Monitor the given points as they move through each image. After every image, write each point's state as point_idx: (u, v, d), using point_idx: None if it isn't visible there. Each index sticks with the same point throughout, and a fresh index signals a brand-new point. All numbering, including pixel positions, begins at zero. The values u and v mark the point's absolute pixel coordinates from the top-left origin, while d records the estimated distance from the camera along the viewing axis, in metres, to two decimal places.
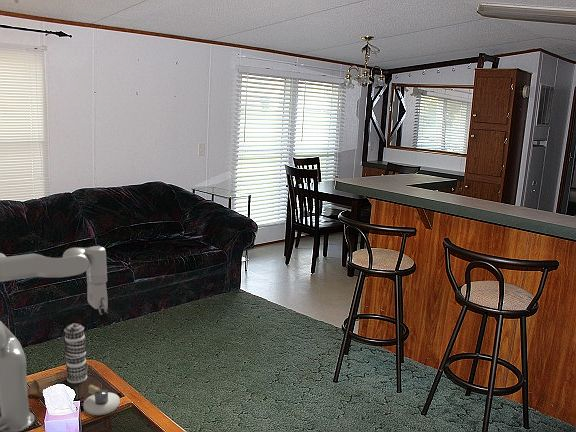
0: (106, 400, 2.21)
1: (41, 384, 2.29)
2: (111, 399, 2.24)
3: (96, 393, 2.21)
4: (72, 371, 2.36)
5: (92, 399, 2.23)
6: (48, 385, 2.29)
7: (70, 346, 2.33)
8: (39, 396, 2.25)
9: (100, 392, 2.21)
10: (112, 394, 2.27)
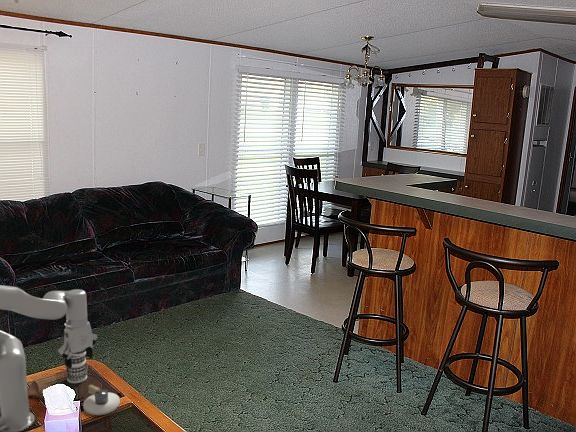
0: (106, 400, 2.21)
1: (40, 385, 2.29)
2: (111, 399, 2.24)
3: (96, 393, 2.21)
4: (72, 371, 2.36)
5: (92, 399, 2.23)
6: (47, 386, 2.28)
7: None
8: (39, 396, 2.25)
9: (100, 392, 2.21)
10: (112, 394, 2.27)
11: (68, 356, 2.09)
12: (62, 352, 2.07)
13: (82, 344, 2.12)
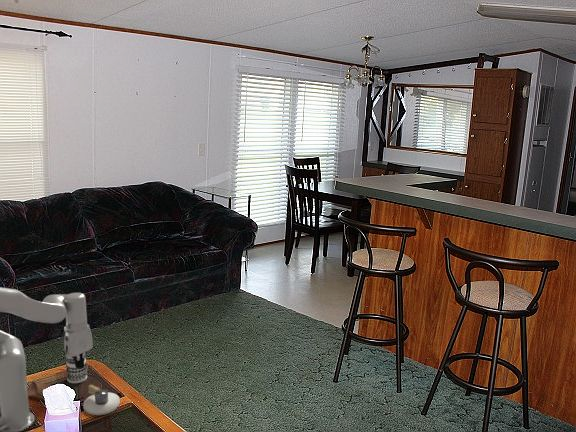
0: (106, 400, 2.21)
1: (39, 385, 2.28)
2: (111, 399, 2.24)
3: (96, 393, 2.21)
4: (72, 371, 2.36)
5: (92, 399, 2.23)
6: (46, 386, 2.28)
7: None
8: (38, 397, 2.24)
9: (100, 392, 2.21)
10: (112, 394, 2.27)
11: (77, 359, 2.13)
12: (71, 357, 2.11)
13: (82, 347, 2.12)
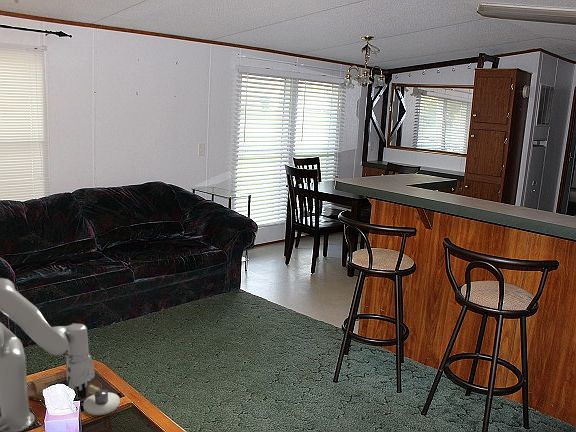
0: (106, 400, 2.21)
1: (38, 386, 2.28)
2: (111, 399, 2.24)
3: (96, 393, 2.21)
4: None
5: (92, 399, 2.23)
6: (45, 387, 2.27)
7: None
8: (37, 397, 2.24)
9: (100, 392, 2.21)
10: (112, 394, 2.27)
11: (79, 389, 2.16)
12: (73, 387, 2.14)
13: (84, 377, 2.15)
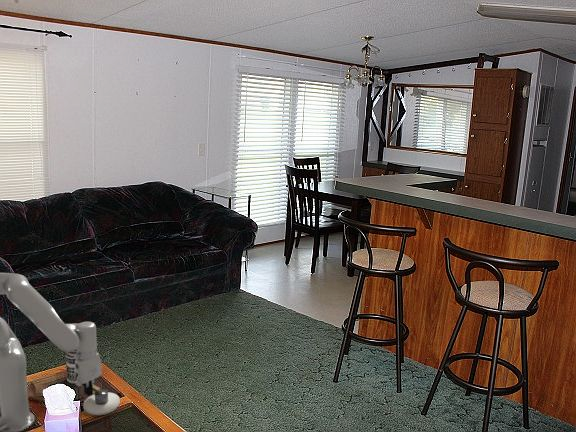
0: (106, 400, 2.21)
1: (38, 386, 2.27)
2: (111, 399, 2.24)
3: (96, 393, 2.21)
4: (72, 371, 2.36)
5: (92, 399, 2.23)
6: (45, 388, 2.27)
7: None
8: (36, 398, 2.23)
9: (100, 392, 2.22)
10: (112, 394, 2.27)
11: (86, 386, 2.19)
12: (80, 384, 2.17)
13: (91, 375, 2.18)
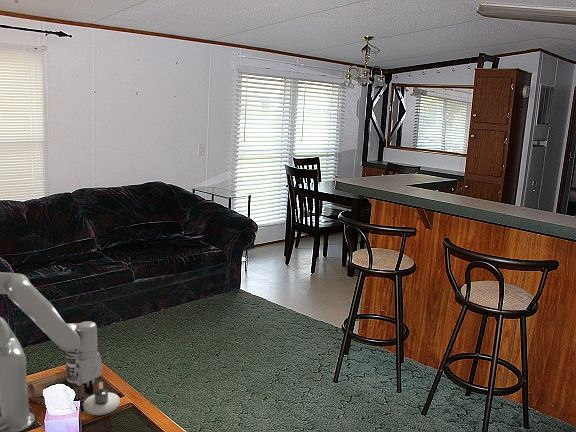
0: (103, 401, 2.20)
1: (36, 387, 2.26)
2: (111, 399, 2.24)
3: (97, 391, 2.22)
4: (72, 371, 2.36)
5: (92, 399, 2.23)
6: None
7: None
8: (34, 399, 2.22)
9: (101, 392, 2.22)
10: (112, 394, 2.27)
11: (87, 385, 2.19)
12: (81, 383, 2.18)
13: (92, 374, 2.19)
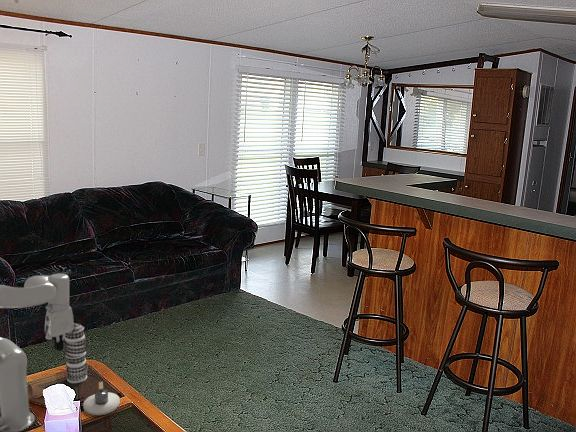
0: (102, 401, 2.20)
1: (35, 388, 2.26)
2: (111, 399, 2.24)
3: (97, 391, 2.22)
4: (72, 371, 2.36)
5: (92, 399, 2.23)
6: (41, 390, 2.25)
7: (70, 346, 2.33)
8: (32, 400, 2.22)
9: (101, 392, 2.22)
10: (112, 394, 2.27)
11: (57, 340, 2.13)
12: (50, 337, 2.11)
13: (62, 329, 2.12)
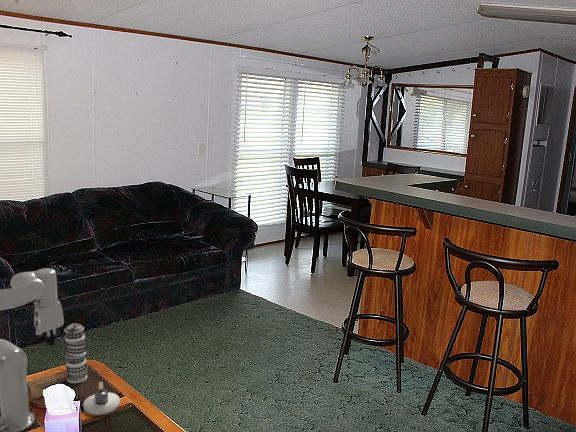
0: (102, 401, 2.20)
1: (33, 389, 2.25)
2: (111, 399, 2.24)
3: (97, 391, 2.22)
4: (72, 371, 2.36)
5: (92, 399, 2.23)
6: (40, 391, 2.24)
7: (70, 346, 2.33)
8: (30, 401, 2.21)
9: (101, 392, 2.22)
10: (112, 394, 2.27)
11: (47, 335, 2.11)
12: (41, 333, 2.09)
13: (52, 323, 2.10)
